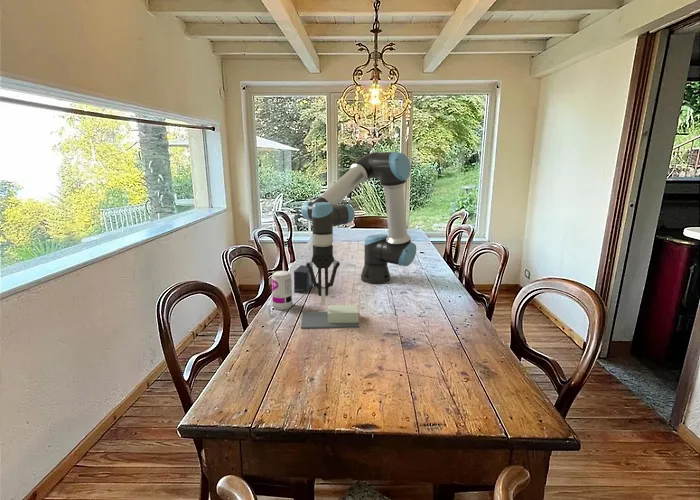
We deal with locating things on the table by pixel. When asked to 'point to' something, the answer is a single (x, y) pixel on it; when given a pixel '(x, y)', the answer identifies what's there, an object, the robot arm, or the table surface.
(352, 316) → the slab
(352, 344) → the table surface
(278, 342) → the table surface
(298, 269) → the small box
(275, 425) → the table surface
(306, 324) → the mat
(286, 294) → the supplement can
